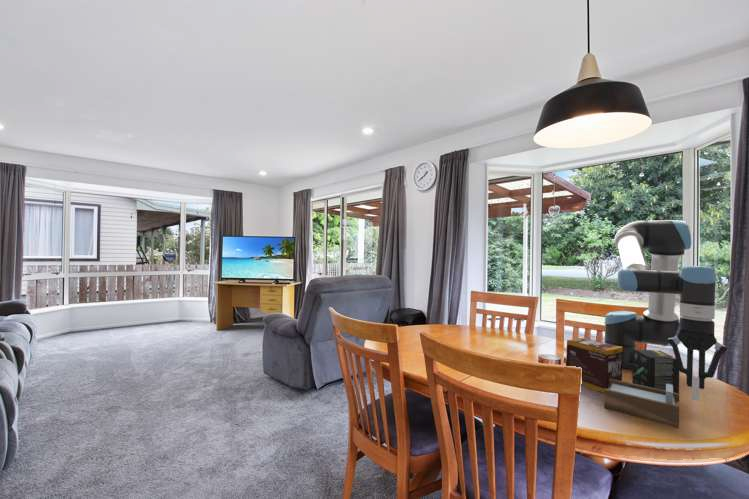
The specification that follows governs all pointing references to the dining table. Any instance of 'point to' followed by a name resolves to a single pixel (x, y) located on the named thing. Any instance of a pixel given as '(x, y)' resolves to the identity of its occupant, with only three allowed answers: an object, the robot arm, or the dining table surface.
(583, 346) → the supplement box
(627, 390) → the cover plate
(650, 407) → the grooved box
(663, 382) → the tampon box
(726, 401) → the dining table surface
